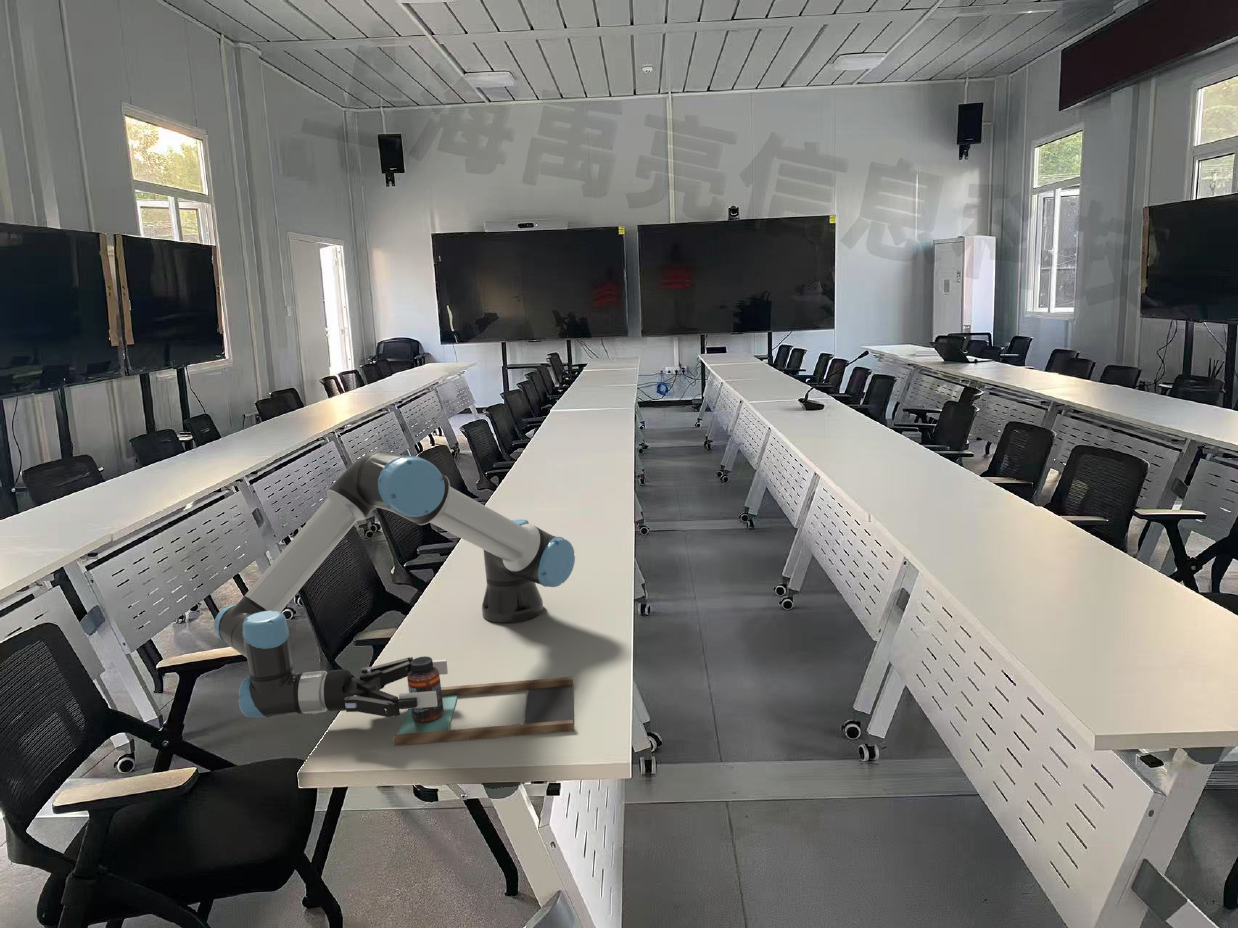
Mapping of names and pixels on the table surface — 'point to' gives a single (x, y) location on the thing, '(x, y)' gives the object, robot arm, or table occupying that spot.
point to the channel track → (543, 715)
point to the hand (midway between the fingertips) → (442, 681)
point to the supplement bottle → (425, 688)
